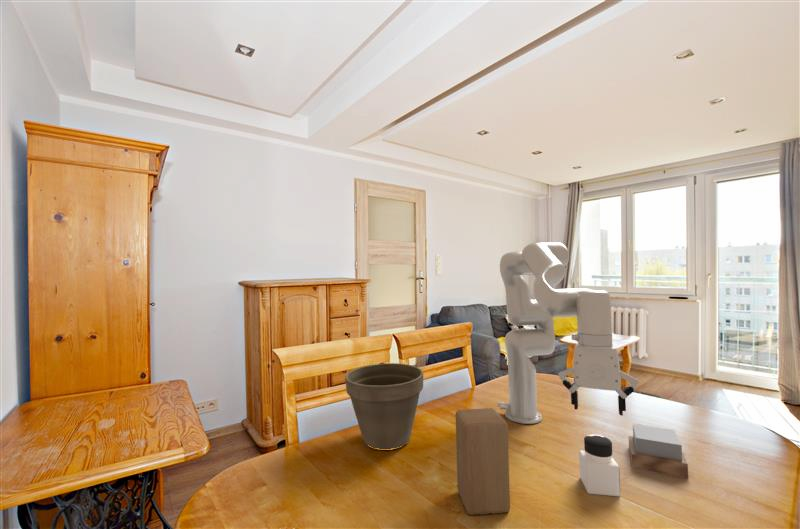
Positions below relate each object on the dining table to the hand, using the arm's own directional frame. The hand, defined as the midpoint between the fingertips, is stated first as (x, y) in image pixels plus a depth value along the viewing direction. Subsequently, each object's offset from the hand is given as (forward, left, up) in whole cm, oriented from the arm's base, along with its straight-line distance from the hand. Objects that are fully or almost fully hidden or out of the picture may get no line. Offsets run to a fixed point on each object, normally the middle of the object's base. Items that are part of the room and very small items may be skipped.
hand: (597, 410), depth 90 cm
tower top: (+14, +21, -15) cm, 29 cm away
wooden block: (-24, -18, -19) cm, 36 cm away
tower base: (+14, +20, -19) cm, 31 cm away
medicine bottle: (0, 0, -19) cm, 19 cm away
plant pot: (-60, -1, -19) cm, 63 cm away
